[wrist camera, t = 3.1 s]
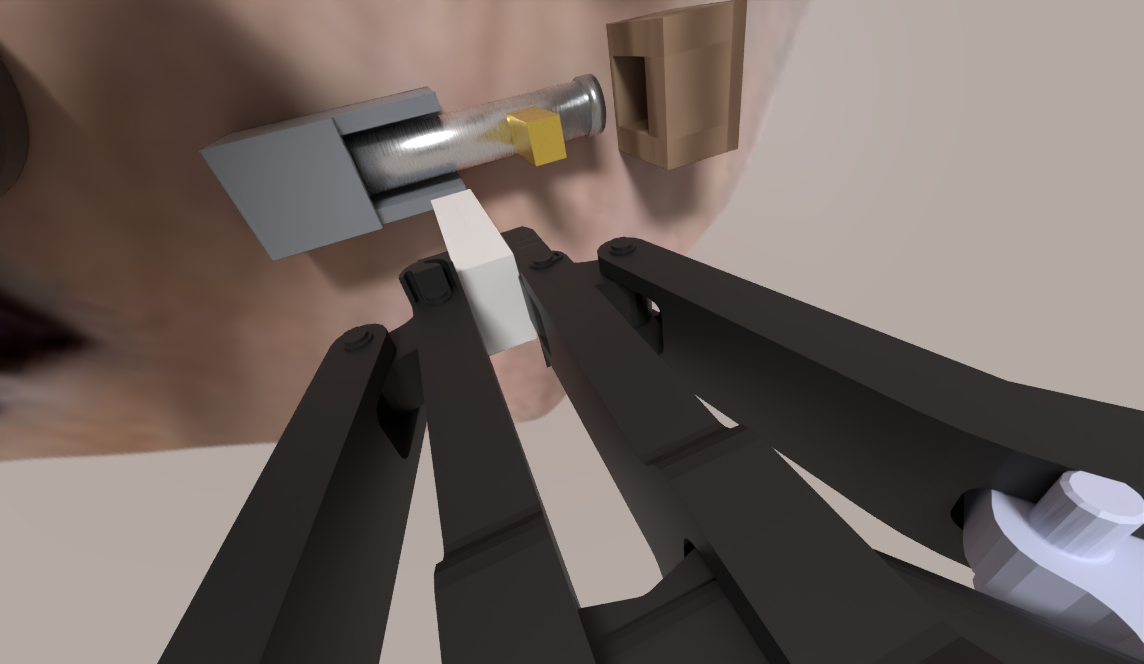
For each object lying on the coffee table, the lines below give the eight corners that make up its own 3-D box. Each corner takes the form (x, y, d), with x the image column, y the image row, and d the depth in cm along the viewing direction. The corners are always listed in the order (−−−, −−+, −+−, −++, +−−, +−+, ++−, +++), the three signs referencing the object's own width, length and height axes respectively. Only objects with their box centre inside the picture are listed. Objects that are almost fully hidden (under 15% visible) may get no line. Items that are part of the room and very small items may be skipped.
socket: (618, 150, 37) (668, 170, 31) (606, 24, 31) (662, 17, 25) (678, 132, 38) (737, 148, 32) (676, 8, 33) (747, -3, 26)
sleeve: (288, 229, 31) (272, 261, 26) (229, 133, 27) (198, 150, 22) (458, 181, 33) (471, 202, 29) (427, 86, 29) (436, 93, 25)
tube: (302, 209, 30) (280, 256, 23) (268, 150, 27) (232, 182, 21) (587, 129, 34) (640, 149, 27) (579, 72, 32) (635, 78, 25)
